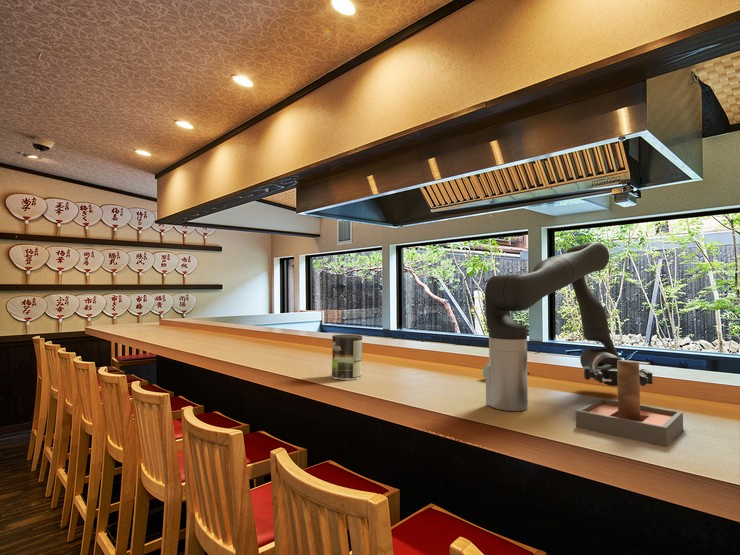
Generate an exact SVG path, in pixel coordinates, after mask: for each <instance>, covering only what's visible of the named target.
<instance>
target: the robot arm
mask: <svg viewBox="0 0 740 555" xmlns="http://www.w3.org/2000/svg"><path fill="white" fill-rule="evenodd" d="M609 261H610V252H609V251H608V248H607V246H606V245H604V244H603V243H602V242H598V241H590V242H586V243H583V244H579V245H574V246H570V247H569V248H568V249H566V253H562V254H557V255H554V256H550V257H548V258H546V259H543V260H541V261H540V262H538V263H537V264H536V265H535V266H534V268H533V270H532V272H529V273H523V274H519V273H518V274H498V275H493V276H491V277H490V278H489V279H488V280H487V282H486V285H485V289H484V290H485V291H484V305H485V320H486V321H485V322H486V323H485V324H486V328H487V330H488V331H487V332H488V352H489V353H488V364H489V367H486V379H485V405H486V406H489V407H492V408H493V409H497V410H502V411H511V412H522V411H526V410H528V406H529V405H528V404H529V402H528V401H529V399H528V398H529V397H528V390H529V389H528V386H529V384H528V382H529V381H528V377H529V376H528V373H527V361H528V329H527V328H526V326H524V325H522V324H520V323H518V322H517V321H515V320H514V319H513V318H512V316H511V312H523V311H526V310H528V309H529V308H532V306H534V305H535V304H537V303H538V302H539V301H540V300H541V299H543V298H544V297H546V296H549V295H551V294H553V293H555V292H557V291H560V290H561V289H563V288H565V287H567V286H569V285H572V288H573V292H574V295H575V298H576V300H577V304H578V309H579V313H580V319H581V321H580V322H581V325H582V326H581V327H582V334H583V338H584V339H585V340H587V341H591V342H598V343H600V344H602V346H603V347H602V348H588V349H584V350H583V351H582V352H581V353H580V356H579V360H580V364H581V367H582V368H583V379H584V380H587V381H588V380H591V379H592V380H593V381H597V382H598V383H599V384H600V383H601V384H602V383H603V384H604V385H606V386H610V387H618V379H617V361H618V360H622V358H621V356H620V355H619V352H618V351H617V349H616V346H615V344H614V342H613V340H612V337H611V334H610V330H609V329H610V328H609V323H608V317H607V312H606V310H605V307H604V306H603V304H602V303H601V302H600V301H599V299H598V298H597V296H595V294H594V293H593V292H592V291H591V290H590V288H589V286H588V284H587V282H586V276H587V275H588V274H592V273H595V272H599V271H603V270H604V269H605V268H606V267H607V266H608V264H609ZM653 374H654V373H653V372H651V371H649V370H647V369H643V368H641V369H640V368H639V381H640V386H642V387H646V385H653Z"/></svg>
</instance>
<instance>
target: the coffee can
mask: <svg viewBox="0 0 740 555" xmlns="http://www.w3.org/2000/svg"><path fill="white" fill-rule="evenodd" d="M331 339H332V345H331V346H332V347H331V348H332V350H331V352H332V353H331V354H332V355H331V379H333V378H334V379H333V380H336V379H340V380H339V381H356V380H355V379H358V380H361V379H362V361H363V360H362V359H363V358H362V356H363V355H362V354H363V353H362V349H363V335H358V334H334V335H332V336H331ZM360 378H361V379H360Z"/></svg>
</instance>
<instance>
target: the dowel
mask: <svg viewBox="0 0 740 555" xmlns="http://www.w3.org/2000/svg"><path fill="white" fill-rule="evenodd" d="M639 370H640V362H639V361H635V360H627V359H624V360H623V359H621V360H618V361H617V379H618V386H617V401H618V418H624V419H629V420H634V421H639V422H640V405H641V393H640V392H641V391H640V388H641V387H640V386H641V385H640V381H639Z"/></svg>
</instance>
